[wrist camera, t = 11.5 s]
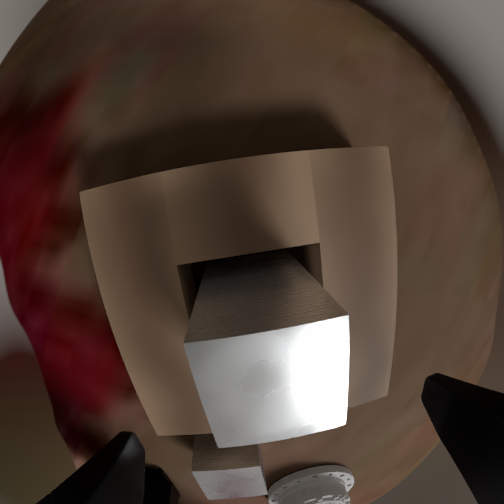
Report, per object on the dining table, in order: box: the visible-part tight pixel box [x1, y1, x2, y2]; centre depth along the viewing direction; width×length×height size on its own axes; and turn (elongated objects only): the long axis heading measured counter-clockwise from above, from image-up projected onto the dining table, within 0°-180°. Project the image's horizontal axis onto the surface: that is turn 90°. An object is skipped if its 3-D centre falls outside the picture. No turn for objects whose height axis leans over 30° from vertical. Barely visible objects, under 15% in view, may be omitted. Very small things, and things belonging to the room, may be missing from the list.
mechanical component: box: [268, 465, 354, 504], centre depth 22 cm, size 10×4×10 cm
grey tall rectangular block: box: [183, 250, 349, 448], centre depth 14 cm, size 5×5×10 cm
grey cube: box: [191, 433, 268, 500], centre depth 19 cm, size 5×5×5 cm
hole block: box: [79, 146, 397, 435], centre depth 16 cm, size 16×16×4 cm
